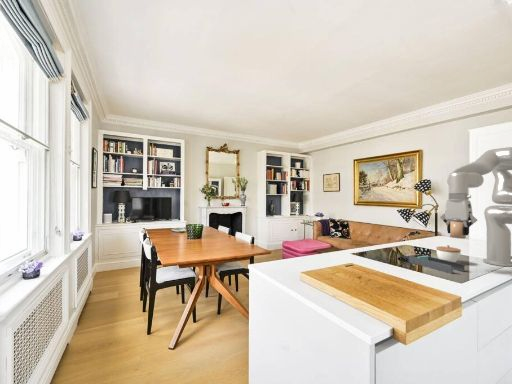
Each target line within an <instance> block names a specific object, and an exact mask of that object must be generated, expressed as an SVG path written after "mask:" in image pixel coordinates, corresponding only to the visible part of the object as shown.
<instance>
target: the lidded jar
mask: <svg viewBox="0 0 512 384" xmlns="http://www.w3.org/2000/svg"><path fill="white" fill-rule="evenodd" d="M435 250H436V256H437V258H438V259H443V260H447V261H451V262H456V263H458V262H459V261H460V258H461V251H462V250H461V249H460V248H458V247H454V246H453V247H452V246H450V245H446V246H436V249H435Z"/></svg>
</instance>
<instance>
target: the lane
mask: <svg viewBox="0 0 512 384" xmlns="http://www.w3.org/2000/svg"><path fill="white" fill-rule="evenodd" d="M420 256H426V255H425V254H419V253H417V254H411V255H408V256H407V262H408V263H411V264H414V265H417V264H418V266H421V267H426V268H429V269H432V270H436V271H439V272H443V273H447V274H451V275H452V274H454V270H455V271H458V272H463V273H465V264H463V263H459V262H451V261H447V260H443V259H439V258H438V257H434V256H429V255H428V256H429V260H425V259H421V258H417V257H420Z"/></svg>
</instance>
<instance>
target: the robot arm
mask: <svg viewBox="0 0 512 384" xmlns="http://www.w3.org/2000/svg"><path fill="white" fill-rule="evenodd" d="M510 171H512V146H508V147H500V148H492V149H488V150H487V151H485V152H483V154H481V155H480V156H479V157H478V158H477V159H476V160H474V161H473V162H469V163H467V164H465V165H462V166H460V167H458V168H456V169H455V170H453V171H452V172H451V173H449V174H448V176H447V180H446V181H447V182H446V183H447V185H448V199H447V200H446V202H445V210H444V213H443V214H442V215H441V216H440V217H439V218H440V219H441V220H442V221H443V222H444V224H445V225H446V231H447V234H450V218H451V219H461V220H462V221H463V224H464V227H463V235H466V236H469V234H470V227H471V226H473V225H474V224H475V223H477V222H478V219H477V218H476V217H475V216H474V215H473V206H472V203H471V200H469V199H472V195H470V194H469V188H470V189H473V188H479V187H481V186H482V185H483V184H484V182H485V181H484V180H485V179H484V176H485V175H487V174H489V173H492V175H493V176H494V184H493V189H492V193H491V200H492V202H493V203H494V204H496V205H489V206H487V207H485V209H484V213H483V215H484V219H485V220H484V221H485V223H486V258H483V259H482V262H483V263H486V264H489V265H492V266H500V267H508V268H509V267H512V232H511V230H510V228H509V227H508V226H507V224H508V225H512V173H511V172H510Z"/></svg>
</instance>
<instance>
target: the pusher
mask: <svg viewBox="0 0 512 384" xmlns="http://www.w3.org/2000/svg"><path fill="white" fill-rule="evenodd" d="M417 258H421V259H425V260H429V255H425V256H420V257H417Z"/></svg>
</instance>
